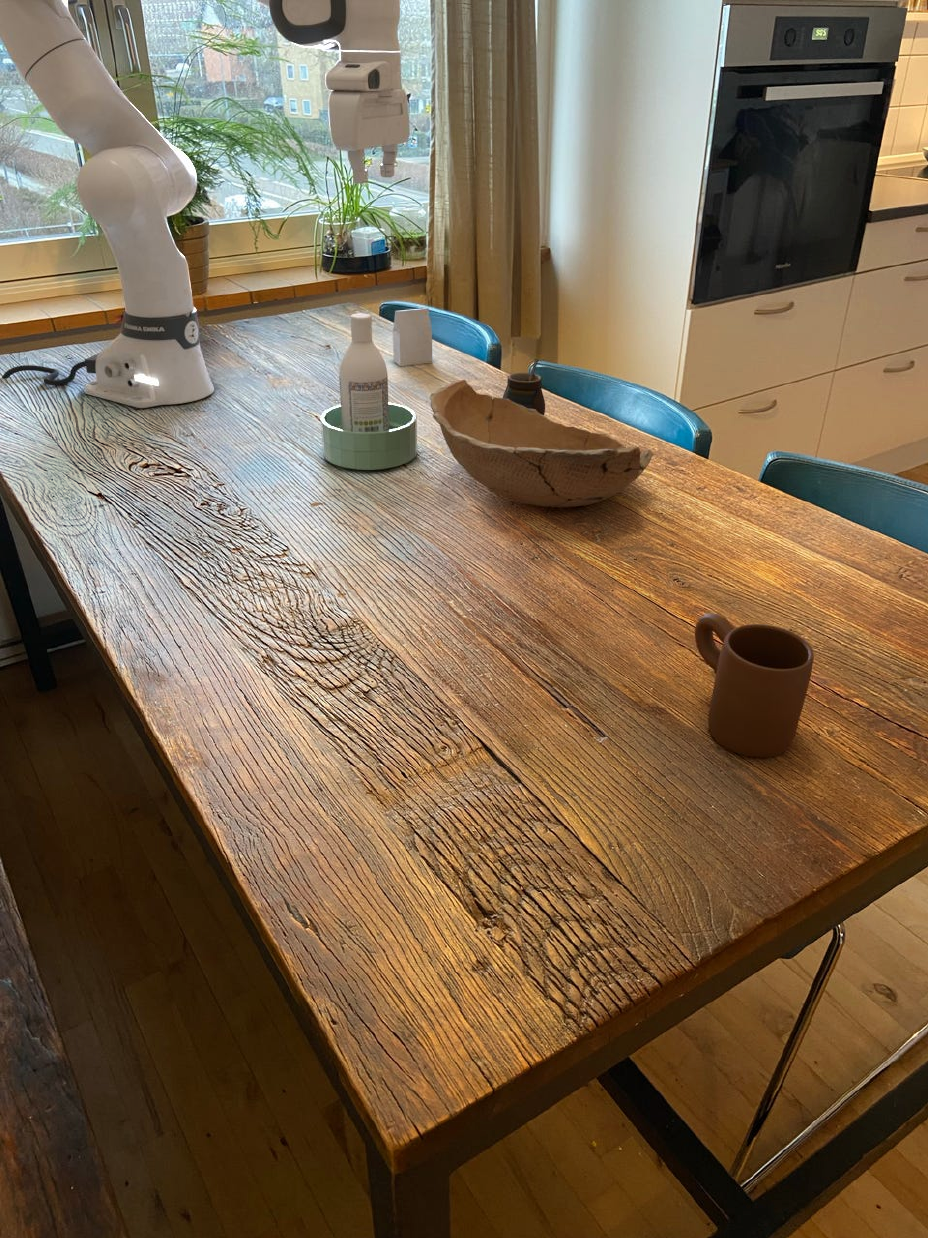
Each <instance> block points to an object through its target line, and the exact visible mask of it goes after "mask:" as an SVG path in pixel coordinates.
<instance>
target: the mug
mask: <svg viewBox="0 0 928 1238" xmlns="http://www.w3.org/2000/svg"><path fill="white" fill-rule="evenodd" d="M714 634H715V635H716V636H717V638H718V639H719V641H721V643H722V646H721V650H720V649H719V648H718V646H717V645H716V642H715V639H714ZM694 639H695V645H696V648H697V651H698V653H699V655H700V656H701V658H702V659H703V660H704V662H705V663H706V664H707V665H709V666H710V668H711V669H712V670H713V672H714V674H715V677H714V682H713V689H712V693H711V699H710V705H709V709H708V715H707V716H708V717H707V724H708V725H707V726H708V730H709V733H710V735H711V736H712V737H713V738H714V740H715V741H716V742H717V743H718V744H719V745H721V747H723V748H725V749H727V750H728V751H731V752H733V753H735V754H737V755H741V756H745V757H748V758H749V757H750V758H758V759H759V758H763V759H764V758H772V757H776V756H779V755H781V754H783V753H784V752H786V751H787V750H788V749H789V748H790V747H791V745H792V744H793V742H794V740H795V736H796V733H797V729H798V726H799V722H800V718H801V715H802V712H803V709H804V705H805V700H806V696H807V693H808V689H809V685H810V681H811V677H812V672H813V664H814V659H815V655H814V650H813V648H812V646H811V645H810V643H809V642H808V641H807V640H806V639H804V638H803V637H802V636H800V635H799V634H797V633H795V632H792V631H791V630H789V629H786V628H783V627H779V626H775V625H769V624H764V623H763V624H762V623H754V624H753V623H751V624H744V625H740V626H737V627H734V626H733V624H732V623H731V622H730V620H729V619H727V618H726V617H725V616H723V615H721V614H719V613H713V612H708V613H705V614H703V615H701V616H700V618H699V619H698V620H697V622H696V625H695V628H694Z"/></svg>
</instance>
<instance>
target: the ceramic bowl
mask: <svg viewBox="0 0 928 1238" xmlns="http://www.w3.org/2000/svg"><path fill="white" fill-rule="evenodd" d="M429 400H430V408H431V410H432V412H433V414H432V417H433V419H434V420H435V421H436V423H437V424H439V427H440V431H441V434H442V436H443V439H444V441H445V443H446V446H447V447H448V449H449V451H450V452H451V455H452V457H453V458H454V459H455V461H456V462H457V463H458V465H460V466H461V467H462V468H463V469H464V471H465V472H466V473H467V474H469V476H470V477H471V478H473V480H475V481H476V482H478V483H479V484H480V485H482V486H483V487H485V488H487V489H488V490H489V492H492V493H493V494H496V495H497V496H500V497H502V498H504V499H506V500H508V501H509V502H517V503H521V504H526V505H531V506H539V507H545V508H546V507H549V508H571V507H572V508H573V507H580V506H581V507H582V506H587V505H592V504H596V503H600V502H603V501H605V500H607V499H610V498H611V497H613V496H614V495H616V494H619V493H620V492H621V491H623V490H624V489H626V488H627V487H629V486H630V485H631V484H632V483H633V482H635V481H636V480H637V479H638V478H639V477H640V476H641V474H643V472H644V471H645V469H646V468H647V467H649V464H650V463H651V461H652V457H653V456H654V455H655V454H654V452H653V451H652V449H648V448H645V449H643V450H641V448H640V446H636V445H634V446H625V445H624V444H623V443H621V442H619V441H617V440H616V439H614V438H612V437H610V436H609V435H607V434H605V433H598V432H591V431H589V430H587V429H583V428H582V429H581V428H578V427H575V426H566V425H564V424H562V423H559V422H555V421H553V420H552V419H550V418H549V417H547V416H546V415H544V416H543V415H541V414H540V413H538V412H537V411H536V410H535V409H528V408H526V407H524V406H522V405H519V404H517V403H514V402H512V401H511V400H509V399H504V398H503V397H498V396H497V397H496V396H491V395H489V394H482V393H481V394H480V393H479V392H477V391H475V389H474V388H473V387H472V386H471V385H469V384H468V382H467V380H466V379H458V380H453V381H450V383H446V384H444V385H443V386H441V387H437V388H436V389H435V390H434V392H432V393H431V394H430V396H429Z"/></svg>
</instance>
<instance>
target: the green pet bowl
mask: <svg viewBox="0 0 928 1238" xmlns="http://www.w3.org/2000/svg"><path fill="white" fill-rule="evenodd" d="M388 407H389V430H388V431H382V432H352V431H345V430H342V417H341V404H339V405H336V406H333V407H330V408H329V409H327V410H325V411H324V412H322V413H321V416H320V417H319V418H320V419H319V420H320V433H321V446H322V449H321V450H322V454H323V457H324V459H325V460H326V461H328V463H330V464H332V465H335V466H337V467H341V468H346V469H352V470H359V471H361V470H363V471H364V470H365V471H374V470H386V469H391V468H394V467H400V466H402V465H404V464H407V463H409V462H411V461H412V460H413V459H415V457H416V456H417V452H418V416H417V414H416V412H415V411H414V410H413V409H411V408H409V407H407V406H405V405H401V404H397V403H392V402H388Z"/></svg>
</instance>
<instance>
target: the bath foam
mask: <svg viewBox="0 0 928 1238" xmlns="http://www.w3.org/2000/svg"><path fill="white" fill-rule="evenodd" d="M372 319H373V318H372V315H371V314H369V313H365V312H357V313H353V314H351V315H350V335H351V342H350V344H349V345H348V347H347V349H346V350H345V352H344V354H343V356H342V358H341V361H340V365H339V371H338V372H339V373H338V374H339V376H338V378H339V380H338V381H339V397H340V399H339V400H340V405H341V417H342V430H345V431H352V432H382V431H388V430H389V407H388V403H389V378H388V369H387V364H386V362H385V359H384V357H383V354H382V353H381V352H380V350H379V349H378V346H376V345H375V343H374V342H373V323H372V321H373V320H372Z"/></svg>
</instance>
